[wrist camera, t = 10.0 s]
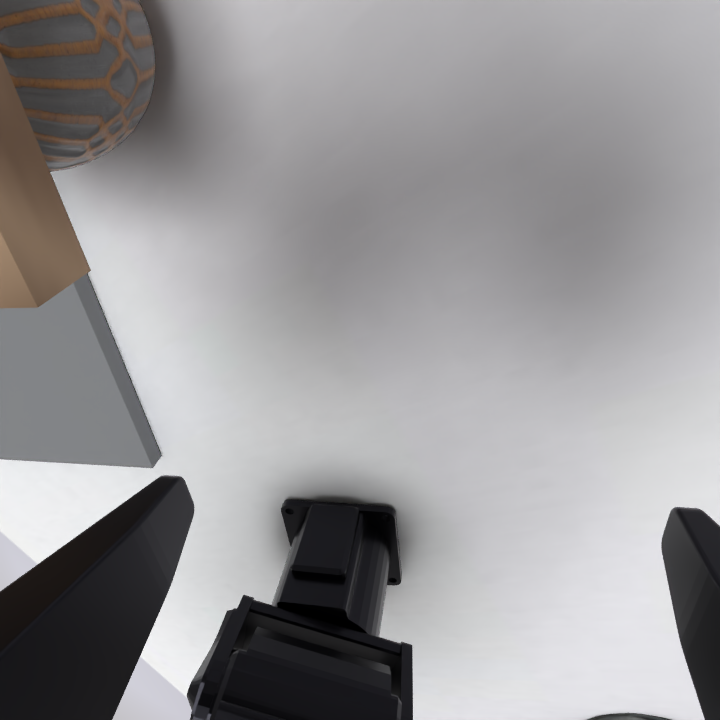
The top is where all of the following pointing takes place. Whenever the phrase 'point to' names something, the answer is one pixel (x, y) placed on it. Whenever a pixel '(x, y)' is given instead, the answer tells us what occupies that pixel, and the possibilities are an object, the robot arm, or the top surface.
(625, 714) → the hair straightener
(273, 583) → the top surface
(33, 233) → the lid
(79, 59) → the vase
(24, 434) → the mat
